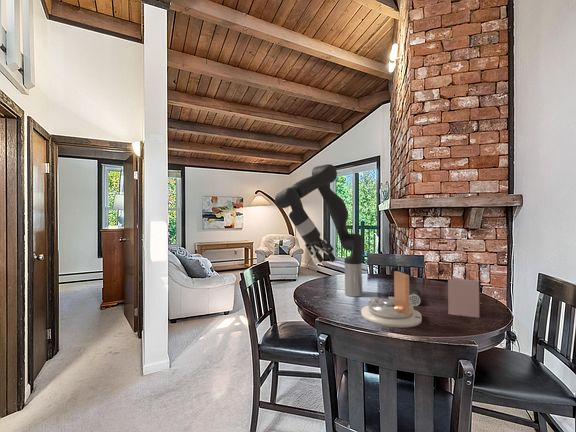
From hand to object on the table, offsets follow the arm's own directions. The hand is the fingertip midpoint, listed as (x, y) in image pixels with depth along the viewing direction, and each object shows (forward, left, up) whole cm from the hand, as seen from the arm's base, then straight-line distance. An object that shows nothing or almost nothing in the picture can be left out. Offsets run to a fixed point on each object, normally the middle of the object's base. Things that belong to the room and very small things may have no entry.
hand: (327, 260), depth 128 cm
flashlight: (-45, +21, -24) cm, 55 cm away
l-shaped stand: (-14, +23, -21) cm, 34 cm away
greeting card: (-37, +43, -24) cm, 62 cm away
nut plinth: (-15, +21, -24) cm, 35 cm away
